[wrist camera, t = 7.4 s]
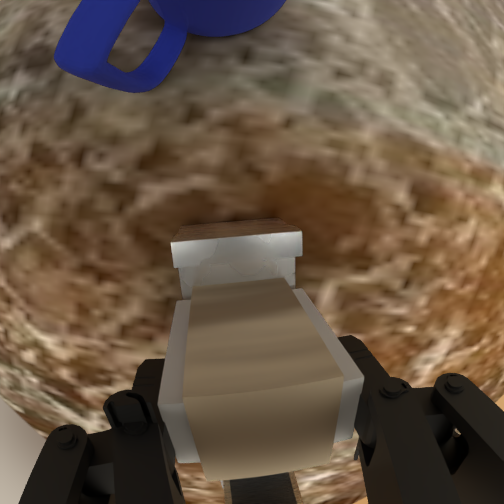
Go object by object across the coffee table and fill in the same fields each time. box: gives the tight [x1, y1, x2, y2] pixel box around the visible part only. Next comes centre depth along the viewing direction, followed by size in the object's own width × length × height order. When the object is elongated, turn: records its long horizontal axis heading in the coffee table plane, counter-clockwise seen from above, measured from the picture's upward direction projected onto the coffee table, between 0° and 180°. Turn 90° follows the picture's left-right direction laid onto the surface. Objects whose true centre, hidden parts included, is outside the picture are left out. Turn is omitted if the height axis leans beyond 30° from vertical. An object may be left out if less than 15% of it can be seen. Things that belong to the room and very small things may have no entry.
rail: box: [171, 218, 303, 504], centre depth 14 cm, size 19×5×10 cm, turn 3°
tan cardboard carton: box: [182, 278, 344, 481], centre depth 11 cm, size 5×4×7 cm
